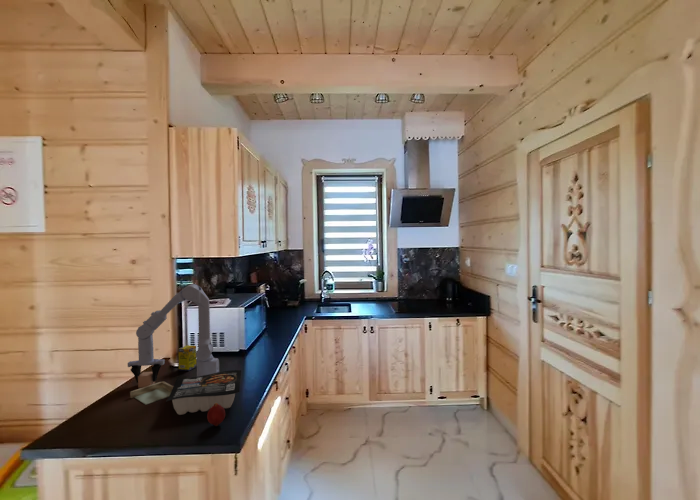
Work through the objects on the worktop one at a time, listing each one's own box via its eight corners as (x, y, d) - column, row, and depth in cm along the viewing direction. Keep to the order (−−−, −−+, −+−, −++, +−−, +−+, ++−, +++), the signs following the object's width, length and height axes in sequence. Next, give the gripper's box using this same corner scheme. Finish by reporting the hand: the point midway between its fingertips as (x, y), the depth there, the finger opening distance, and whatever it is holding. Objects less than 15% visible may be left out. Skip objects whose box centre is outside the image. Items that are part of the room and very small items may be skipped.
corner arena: (163, 386, 150) (162, 380, 150) (178, 394, 142) (177, 388, 142) (130, 397, 139) (129, 391, 139) (144, 406, 131) (144, 400, 131)
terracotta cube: (155, 382, 155) (155, 371, 155) (150, 386, 150) (150, 375, 150) (143, 383, 154) (143, 372, 154) (138, 387, 149) (137, 376, 149)
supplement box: (189, 371, 167) (188, 349, 167) (178, 370, 168) (177, 348, 168) (196, 367, 173) (196, 345, 173) (186, 366, 174) (185, 345, 174)
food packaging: (241, 368, 150) (239, 390, 128) (241, 385, 150) (239, 410, 128) (178, 375, 143) (165, 399, 121) (179, 393, 143) (166, 420, 121)
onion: (210, 421, 120) (210, 399, 120) (227, 420, 120) (227, 398, 120) (205, 430, 114) (204, 407, 114) (222, 429, 114) (222, 406, 114)
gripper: (166, 347, 157) (167, 376, 157) (132, 349, 154) (133, 379, 155) (160, 352, 150) (161, 383, 150) (124, 354, 147) (125, 385, 148)
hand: (146, 381), depth 152 cm, fingers open, 6 cm apart
